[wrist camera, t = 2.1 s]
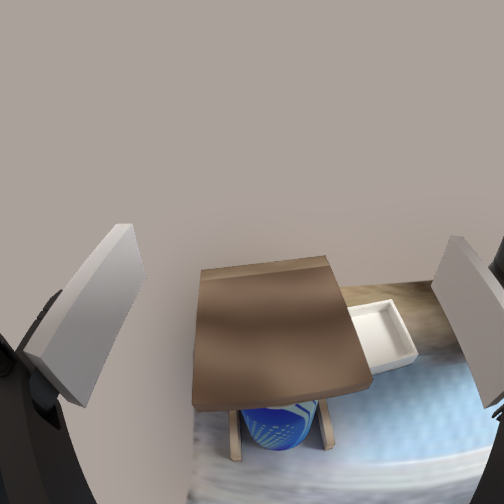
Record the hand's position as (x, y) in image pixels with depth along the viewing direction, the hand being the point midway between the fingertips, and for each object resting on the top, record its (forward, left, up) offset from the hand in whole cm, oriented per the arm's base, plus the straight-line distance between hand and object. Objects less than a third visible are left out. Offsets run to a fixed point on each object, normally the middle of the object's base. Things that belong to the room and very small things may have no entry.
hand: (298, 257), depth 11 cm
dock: (+3, -5, -33) cm, 33 cm away
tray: (-6, -21, -33) cm, 40 cm away
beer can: (+3, -3, -33) cm, 33 cm away
